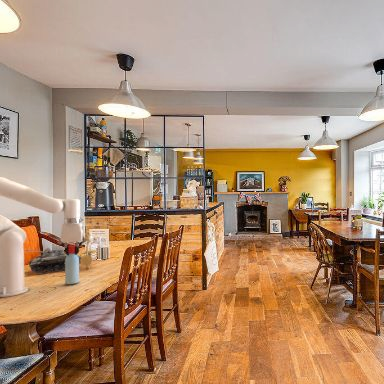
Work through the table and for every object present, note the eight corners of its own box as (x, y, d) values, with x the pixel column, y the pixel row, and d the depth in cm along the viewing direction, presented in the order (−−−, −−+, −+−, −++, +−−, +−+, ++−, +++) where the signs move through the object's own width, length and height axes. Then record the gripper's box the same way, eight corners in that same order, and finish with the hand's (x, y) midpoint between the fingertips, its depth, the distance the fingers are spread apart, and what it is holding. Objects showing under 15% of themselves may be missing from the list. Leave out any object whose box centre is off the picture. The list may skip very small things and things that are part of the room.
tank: (24, 271, 180) (24, 248, 180) (80, 263, 201) (79, 242, 201) (25, 277, 168) (25, 252, 168) (85, 267, 189) (84, 245, 189)
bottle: (70, 284, 152) (70, 248, 152) (62, 283, 155) (62, 247, 155) (81, 281, 158) (81, 246, 158) (73, 279, 161) (74, 245, 161)
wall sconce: (94, 270, 182) (94, 231, 181) (77, 272, 179) (77, 232, 178) (99, 265, 195) (98, 228, 195) (83, 266, 192) (82, 229, 192)
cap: (77, 251, 159) (77, 245, 159) (75, 253, 155) (75, 246, 155) (68, 252, 158) (68, 245, 158) (67, 253, 154) (67, 246, 154)
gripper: (90, 220, 163) (90, 252, 163) (56, 221, 157) (56, 254, 157) (88, 221, 156) (88, 254, 156) (52, 222, 150) (52, 257, 150)
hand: (72, 254), depth 156 cm, fingers closed on cap, 3 cm apart
